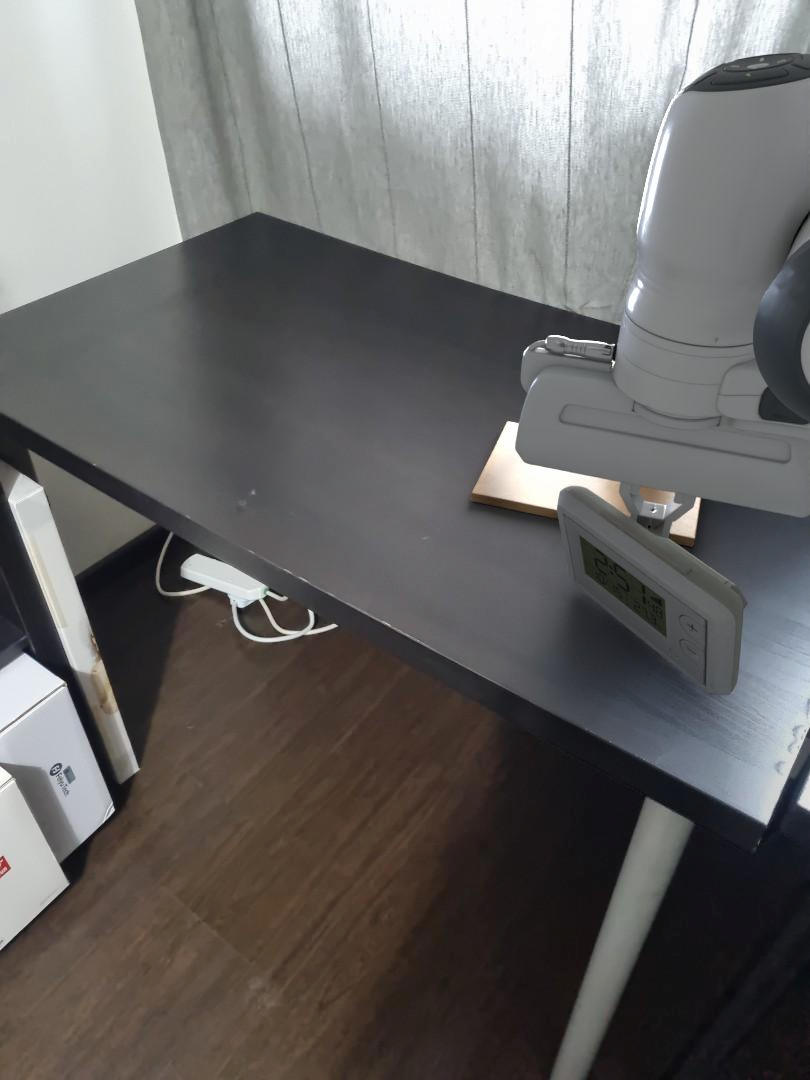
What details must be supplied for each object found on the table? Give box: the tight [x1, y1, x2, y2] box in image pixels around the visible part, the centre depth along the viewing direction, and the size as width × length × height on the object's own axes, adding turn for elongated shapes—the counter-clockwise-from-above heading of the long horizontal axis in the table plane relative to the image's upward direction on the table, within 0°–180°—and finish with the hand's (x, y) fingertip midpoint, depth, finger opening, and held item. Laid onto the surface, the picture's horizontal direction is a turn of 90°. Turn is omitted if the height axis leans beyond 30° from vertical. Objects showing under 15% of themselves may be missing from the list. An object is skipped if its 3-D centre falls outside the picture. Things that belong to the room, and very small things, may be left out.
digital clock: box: [557, 486, 749, 696], centre depth 59 cm, size 16×9×11 cm
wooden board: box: [470, 420, 702, 548], centre depth 78 cm, size 20×13×1 cm, turn 70°
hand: (648, 529), depth 60 cm, fingers closed
